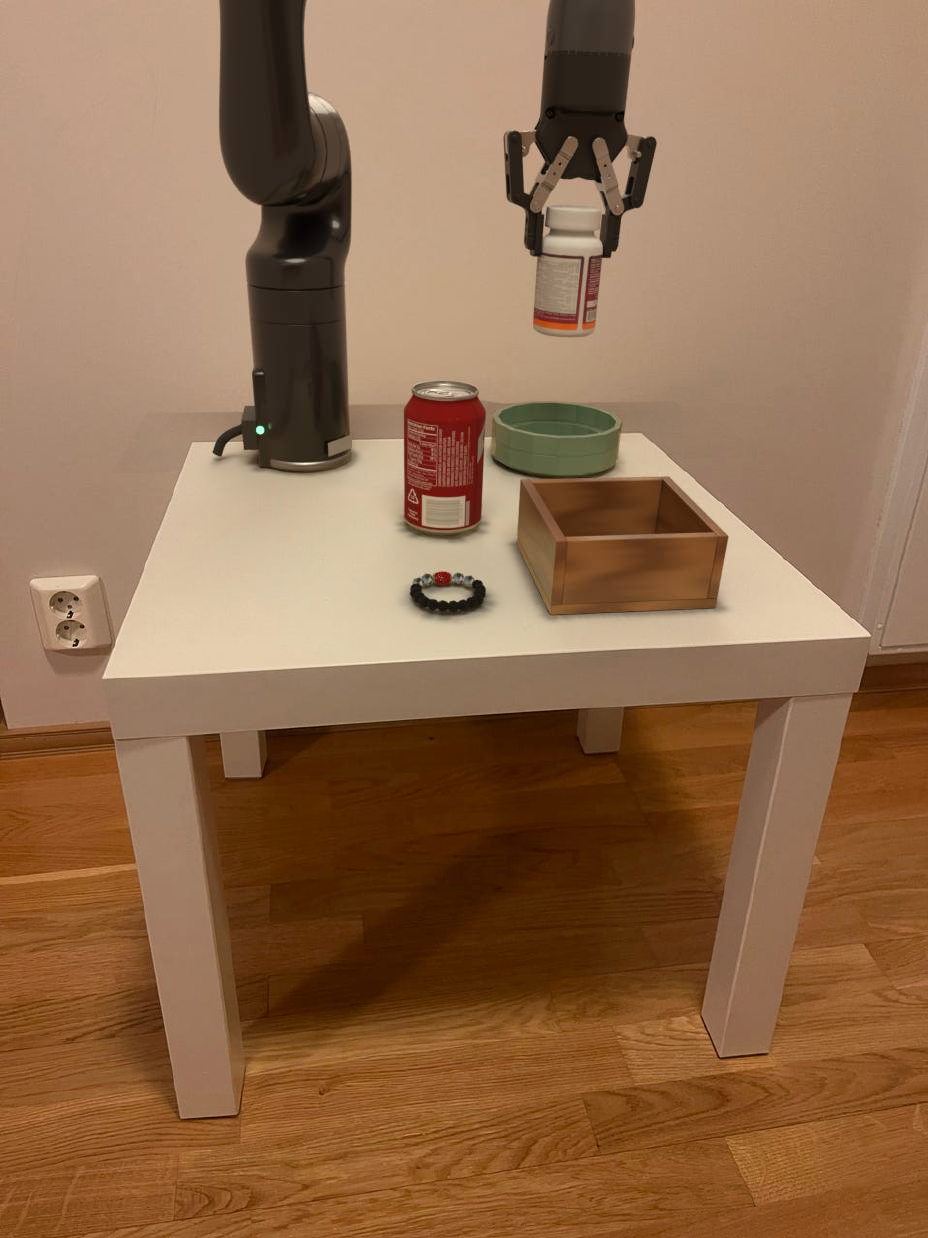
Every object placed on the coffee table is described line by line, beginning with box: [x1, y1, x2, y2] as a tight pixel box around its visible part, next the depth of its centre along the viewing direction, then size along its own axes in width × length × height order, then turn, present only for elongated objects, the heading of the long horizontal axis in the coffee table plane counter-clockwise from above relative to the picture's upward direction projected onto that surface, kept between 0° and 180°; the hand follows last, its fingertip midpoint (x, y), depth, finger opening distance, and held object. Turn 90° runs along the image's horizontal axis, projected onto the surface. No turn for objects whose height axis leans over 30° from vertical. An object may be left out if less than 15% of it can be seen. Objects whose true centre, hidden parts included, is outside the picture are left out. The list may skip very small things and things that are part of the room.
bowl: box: [490, 400, 623, 479], centre depth 95 cm, size 13×13×4 cm
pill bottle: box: [532, 204, 603, 338], centre depth 87 cm, size 6×6×11 cm
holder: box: [516, 475, 729, 616], centre depth 70 cm, size 13×13×6 cm
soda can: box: [403, 379, 487, 537], centre depth 77 cm, size 7×7×12 cm
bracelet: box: [409, 571, 487, 613], centre depth 67 cm, size 6×6×1 cm
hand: (569, 255), depth 86 cm, fingers closed on pill bottle, 6 cm apart
